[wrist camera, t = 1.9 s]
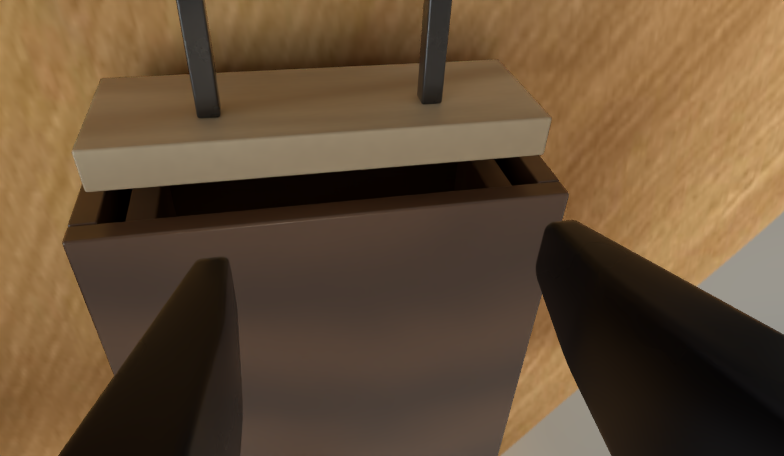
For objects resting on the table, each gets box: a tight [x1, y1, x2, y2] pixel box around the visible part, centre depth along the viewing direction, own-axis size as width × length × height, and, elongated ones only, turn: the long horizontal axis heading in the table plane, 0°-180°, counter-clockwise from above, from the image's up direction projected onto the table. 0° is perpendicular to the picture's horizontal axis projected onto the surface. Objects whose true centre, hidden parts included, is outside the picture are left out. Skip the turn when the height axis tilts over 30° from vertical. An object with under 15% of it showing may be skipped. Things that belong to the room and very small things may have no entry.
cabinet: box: [62, 155, 569, 456], centre depth 22 cm, size 15×13×6 cm
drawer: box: [72, 0, 551, 221], centre depth 19 cm, size 19×12×4 cm, turn 177°
